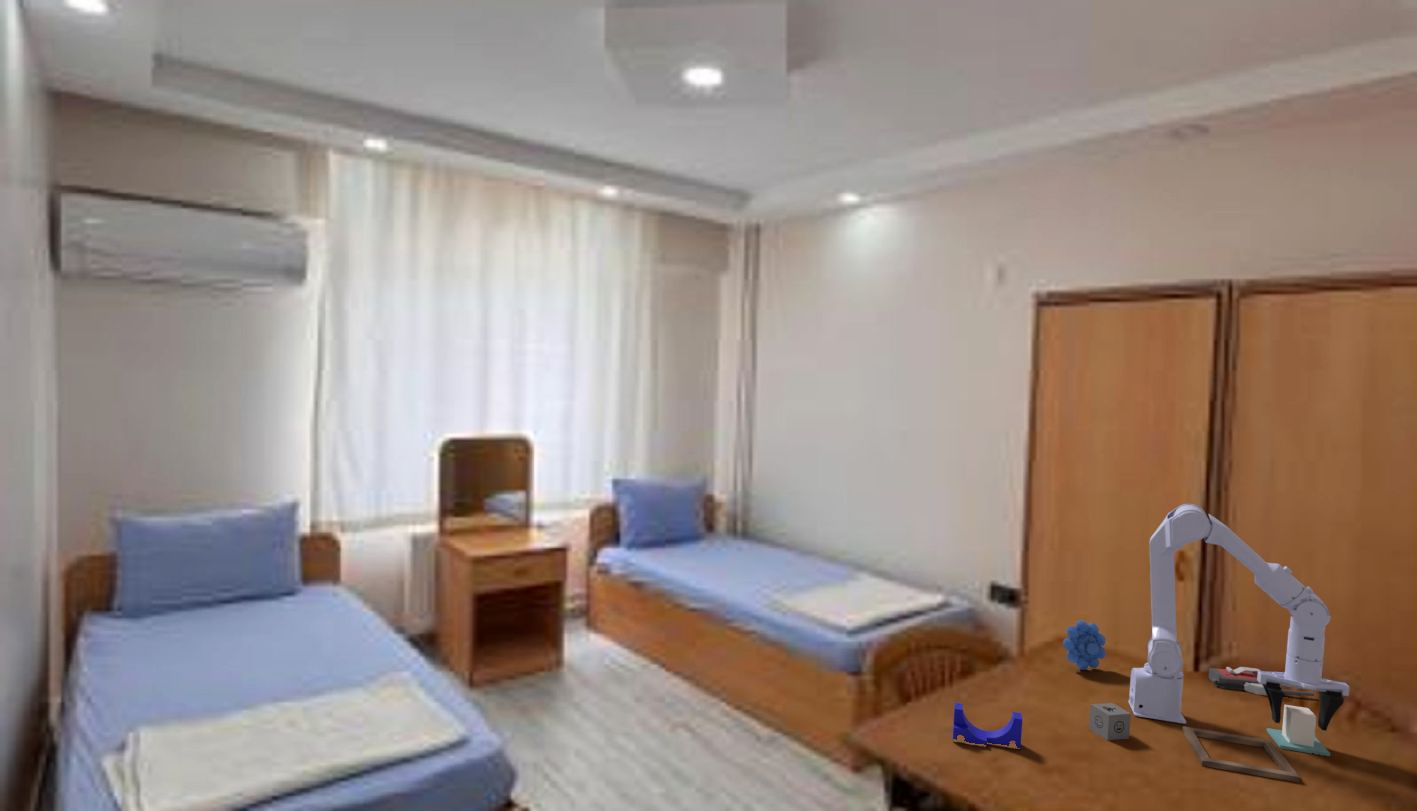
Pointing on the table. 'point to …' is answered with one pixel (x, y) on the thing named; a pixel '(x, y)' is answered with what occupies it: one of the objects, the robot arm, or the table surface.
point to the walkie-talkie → (1244, 681)
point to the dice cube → (1109, 721)
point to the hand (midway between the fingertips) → (1298, 724)
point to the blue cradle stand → (982, 737)
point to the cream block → (1299, 725)
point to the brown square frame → (1283, 774)
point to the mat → (1285, 744)
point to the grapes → (1084, 645)
